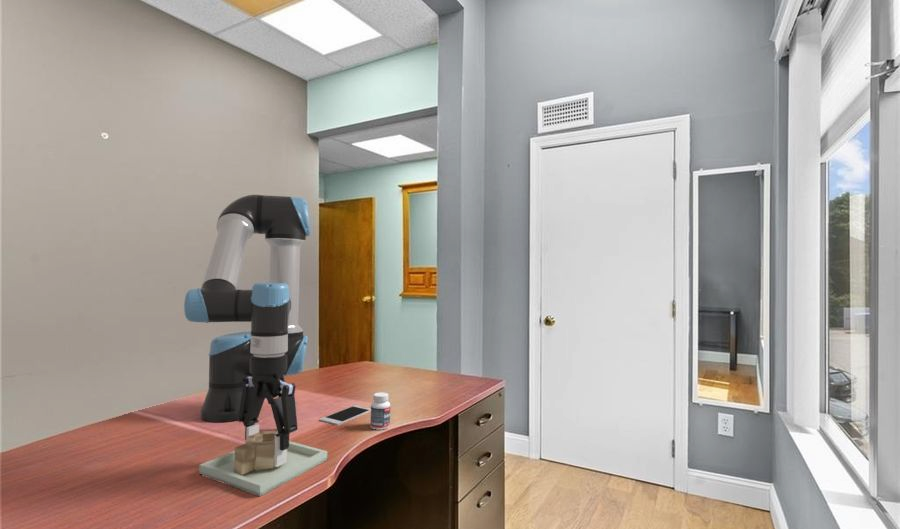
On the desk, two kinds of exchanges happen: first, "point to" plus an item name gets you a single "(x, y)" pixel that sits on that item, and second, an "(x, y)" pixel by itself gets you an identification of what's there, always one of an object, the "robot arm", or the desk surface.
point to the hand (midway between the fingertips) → (266, 459)
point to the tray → (264, 479)
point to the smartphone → (345, 415)
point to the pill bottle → (380, 412)
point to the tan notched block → (255, 453)
